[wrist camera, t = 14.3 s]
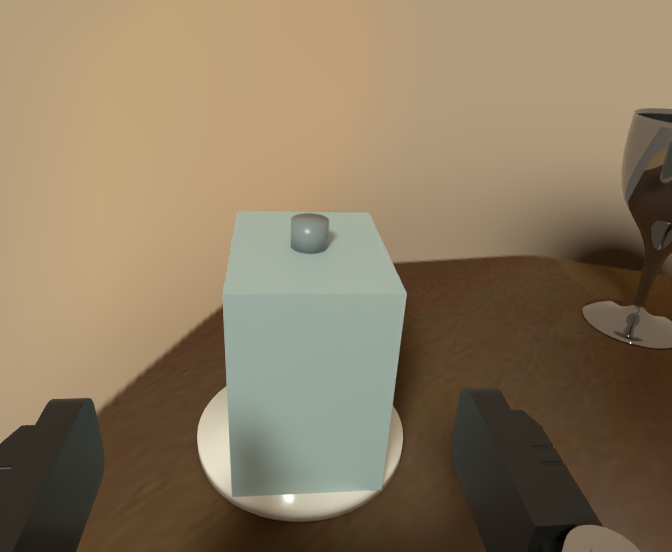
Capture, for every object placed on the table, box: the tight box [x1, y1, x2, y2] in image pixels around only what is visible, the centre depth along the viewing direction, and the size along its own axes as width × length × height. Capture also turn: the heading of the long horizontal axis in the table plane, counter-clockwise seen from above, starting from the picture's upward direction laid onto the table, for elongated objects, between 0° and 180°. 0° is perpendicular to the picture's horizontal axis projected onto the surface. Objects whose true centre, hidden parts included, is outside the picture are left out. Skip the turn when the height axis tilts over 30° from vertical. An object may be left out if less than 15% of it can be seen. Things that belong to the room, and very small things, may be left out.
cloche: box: [223, 211, 407, 497], centre depth 25 cm, size 7×9×11 cm
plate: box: [197, 386, 403, 522], centre depth 28 cm, size 10×10×1 cm
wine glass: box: [582, 109, 672, 349], centre depth 37 cm, size 8×8×15 cm
